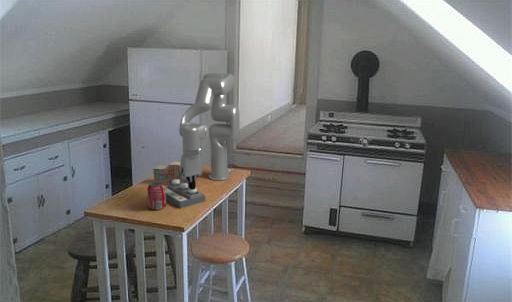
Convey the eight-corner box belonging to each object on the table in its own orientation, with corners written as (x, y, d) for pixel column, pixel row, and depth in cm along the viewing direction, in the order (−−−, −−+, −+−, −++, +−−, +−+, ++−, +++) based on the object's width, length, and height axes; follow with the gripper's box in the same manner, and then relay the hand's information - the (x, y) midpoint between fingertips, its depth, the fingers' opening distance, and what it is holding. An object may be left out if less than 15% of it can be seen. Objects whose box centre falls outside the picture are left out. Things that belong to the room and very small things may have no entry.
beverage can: (159, 202, 192) (157, 179, 189) (169, 207, 188) (168, 183, 185) (145, 207, 186) (143, 183, 183) (155, 212, 182) (154, 187, 179)
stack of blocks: (154, 184, 219) (152, 163, 216) (159, 180, 225) (157, 160, 221) (190, 187, 214) (189, 165, 211) (194, 183, 220) (193, 162, 217)
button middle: (185, 186, 202) (185, 182, 201) (189, 188, 199) (189, 184, 198) (178, 187, 199) (178, 184, 199) (182, 190, 196) (182, 186, 196)
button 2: (193, 190, 196) (193, 186, 195) (198, 192, 193) (198, 188, 192) (186, 192, 193) (186, 188, 193) (191, 194, 190) (191, 190, 190)
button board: (181, 188, 212) (180, 180, 211) (205, 201, 195) (205, 192, 194) (157, 194, 203) (156, 186, 202) (180, 208, 186) (180, 199, 185)
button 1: (177, 182, 207) (177, 178, 207) (181, 184, 205) (181, 180, 204) (170, 183, 205) (170, 180, 204) (174, 185, 202) (174, 182, 201)
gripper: (199, 148, 195) (200, 183, 200) (173, 153, 186) (174, 190, 190) (208, 151, 190) (209, 187, 194) (181, 156, 180) (182, 194, 185)
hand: (192, 188), depth 192 cm, fingers closed
